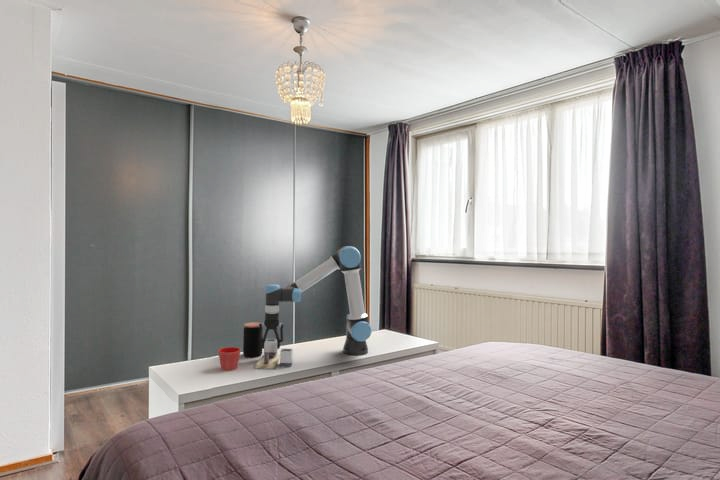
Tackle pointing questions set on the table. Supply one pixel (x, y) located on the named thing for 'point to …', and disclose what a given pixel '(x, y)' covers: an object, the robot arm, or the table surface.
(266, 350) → the sleeve
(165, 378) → the table surface
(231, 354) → the flower pot
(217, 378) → the table surface
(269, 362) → the pin board
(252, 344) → the coffee jar
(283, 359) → the sleeve
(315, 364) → the table surface
